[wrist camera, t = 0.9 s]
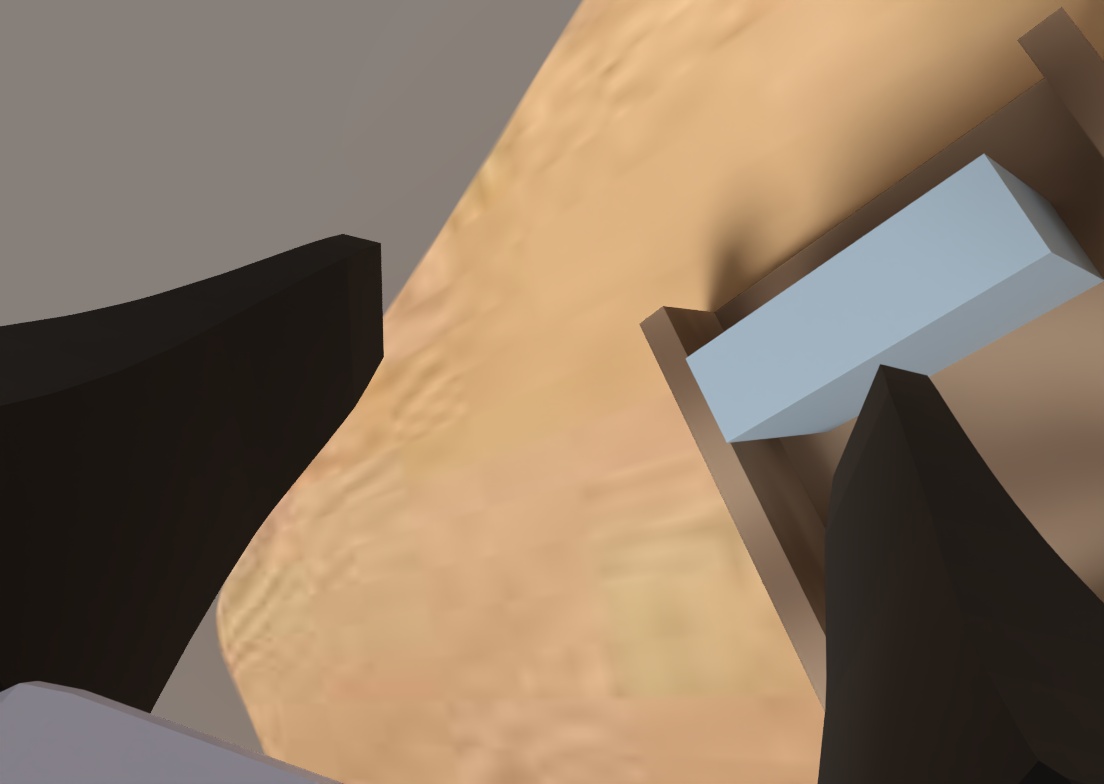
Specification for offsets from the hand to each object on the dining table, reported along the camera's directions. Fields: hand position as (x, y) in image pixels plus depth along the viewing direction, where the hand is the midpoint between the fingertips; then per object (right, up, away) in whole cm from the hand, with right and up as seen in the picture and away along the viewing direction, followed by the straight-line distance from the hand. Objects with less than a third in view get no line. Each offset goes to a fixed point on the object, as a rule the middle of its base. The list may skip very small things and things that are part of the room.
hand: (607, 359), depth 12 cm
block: (+10, +1, +11) cm, 15 cm away
